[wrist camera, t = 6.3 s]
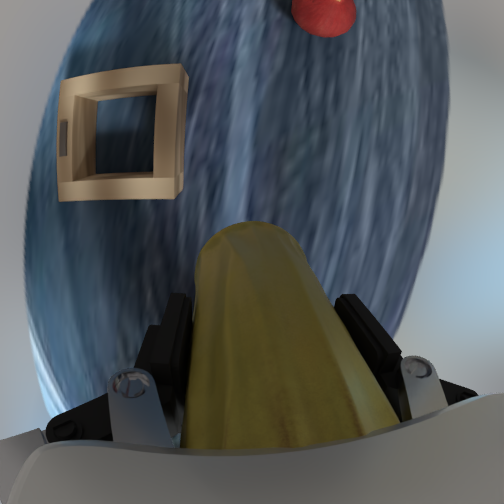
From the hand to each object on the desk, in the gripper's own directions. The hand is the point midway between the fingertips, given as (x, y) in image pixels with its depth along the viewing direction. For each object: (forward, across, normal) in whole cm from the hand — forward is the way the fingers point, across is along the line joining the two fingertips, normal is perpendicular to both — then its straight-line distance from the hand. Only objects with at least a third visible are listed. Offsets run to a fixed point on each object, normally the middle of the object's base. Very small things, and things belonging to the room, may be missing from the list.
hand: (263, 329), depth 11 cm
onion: (+18, -6, -21) cm, 28 cm away
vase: (+5, 0, 0) cm, 5 cm away
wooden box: (+18, +11, -8) cm, 23 cm away
